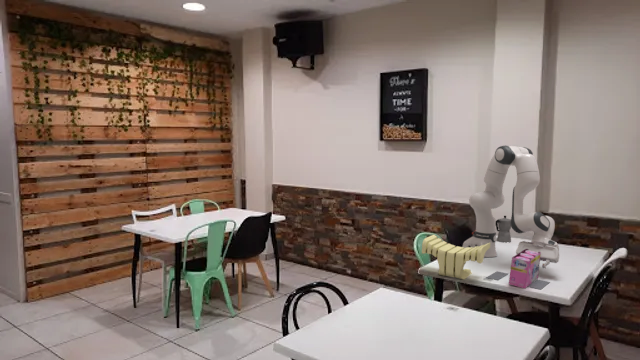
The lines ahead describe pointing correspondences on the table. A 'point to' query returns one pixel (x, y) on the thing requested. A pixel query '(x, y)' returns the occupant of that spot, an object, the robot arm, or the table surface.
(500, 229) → the coffeepot
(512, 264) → the gum box
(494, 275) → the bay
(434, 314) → the table surface
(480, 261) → the slatted curved stool
